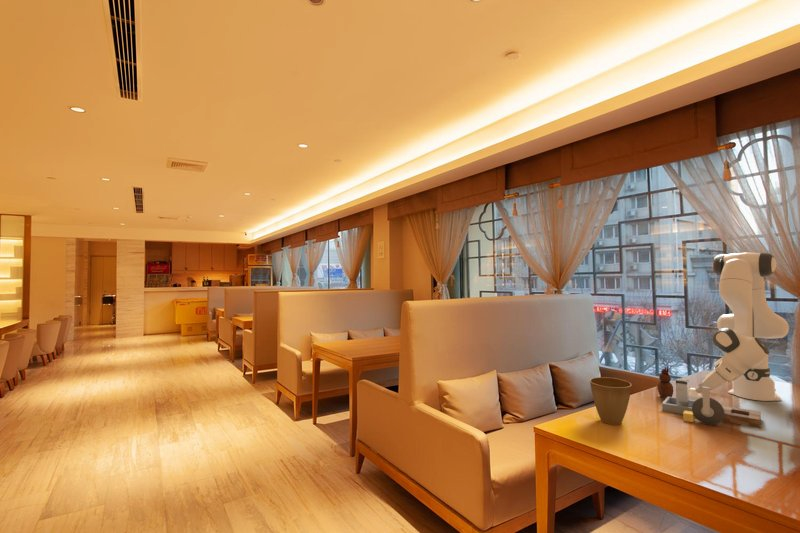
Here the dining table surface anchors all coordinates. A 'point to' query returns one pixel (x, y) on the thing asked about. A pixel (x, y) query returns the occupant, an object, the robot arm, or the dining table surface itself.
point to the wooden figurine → (665, 384)
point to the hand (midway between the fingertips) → (698, 389)
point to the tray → (675, 406)
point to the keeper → (741, 416)
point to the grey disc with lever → (705, 410)
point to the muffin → (693, 394)
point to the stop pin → (682, 392)
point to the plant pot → (610, 398)
